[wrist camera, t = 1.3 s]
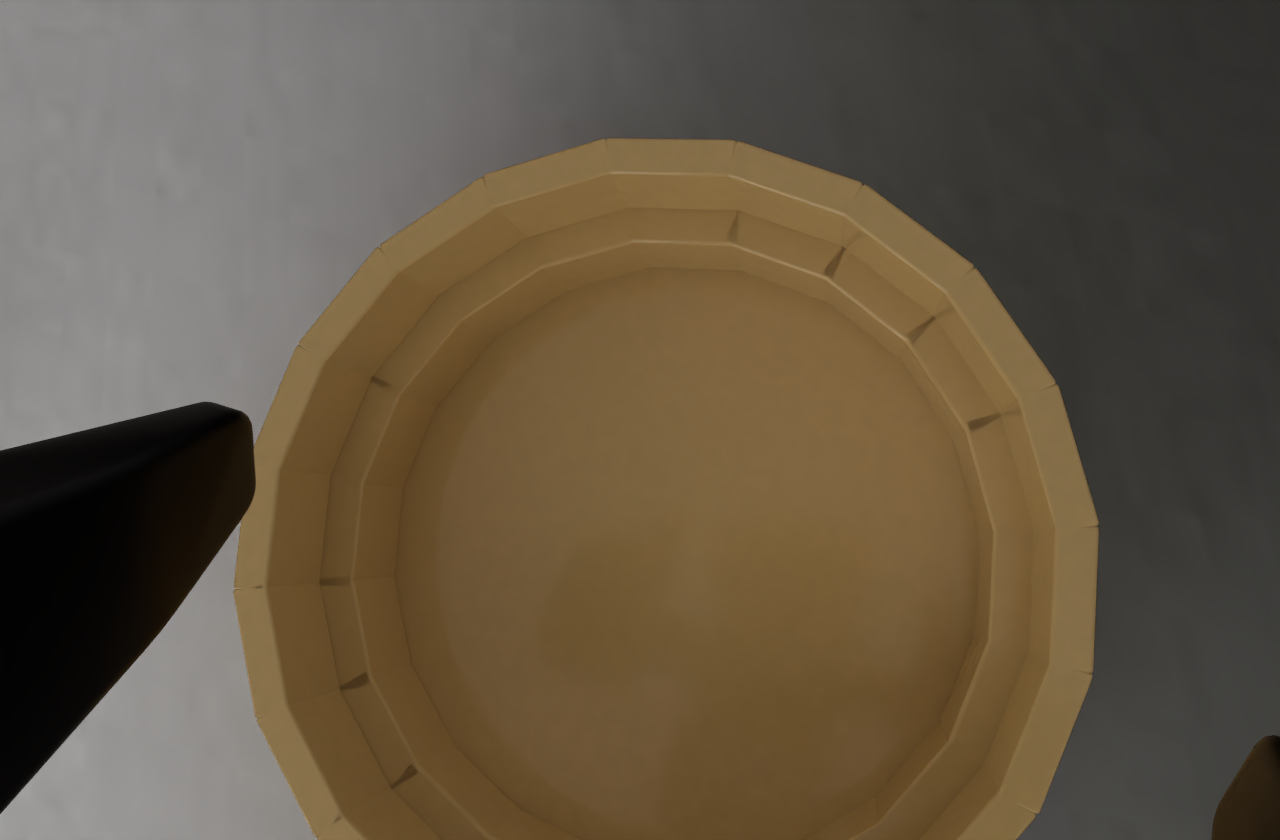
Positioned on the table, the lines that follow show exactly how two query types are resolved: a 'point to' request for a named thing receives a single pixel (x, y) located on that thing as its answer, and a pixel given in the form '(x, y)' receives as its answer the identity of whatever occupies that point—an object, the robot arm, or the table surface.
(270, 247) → the table surface
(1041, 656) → the bowl
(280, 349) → the table surface
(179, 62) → the table surface
